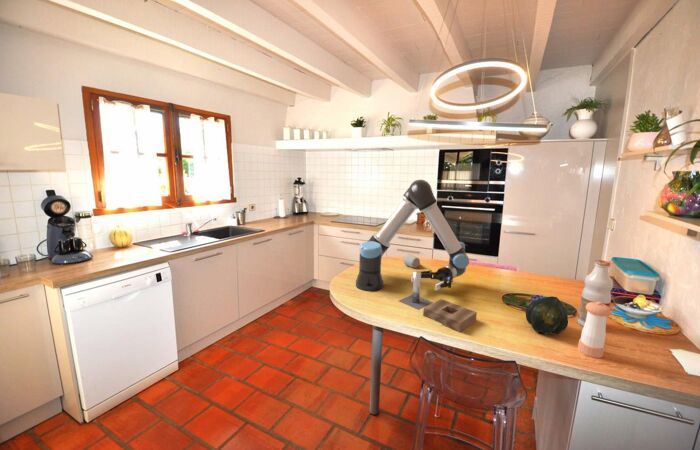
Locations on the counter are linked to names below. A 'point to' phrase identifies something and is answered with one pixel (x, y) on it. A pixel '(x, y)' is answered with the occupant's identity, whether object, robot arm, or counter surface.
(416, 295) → the metal pin
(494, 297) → the counter surface
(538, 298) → the pudding
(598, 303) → the pepper shaker
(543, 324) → the squash
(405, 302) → the rubber mat
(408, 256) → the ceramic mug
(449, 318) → the socket block
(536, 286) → the counter surface
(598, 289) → the fruit juice
